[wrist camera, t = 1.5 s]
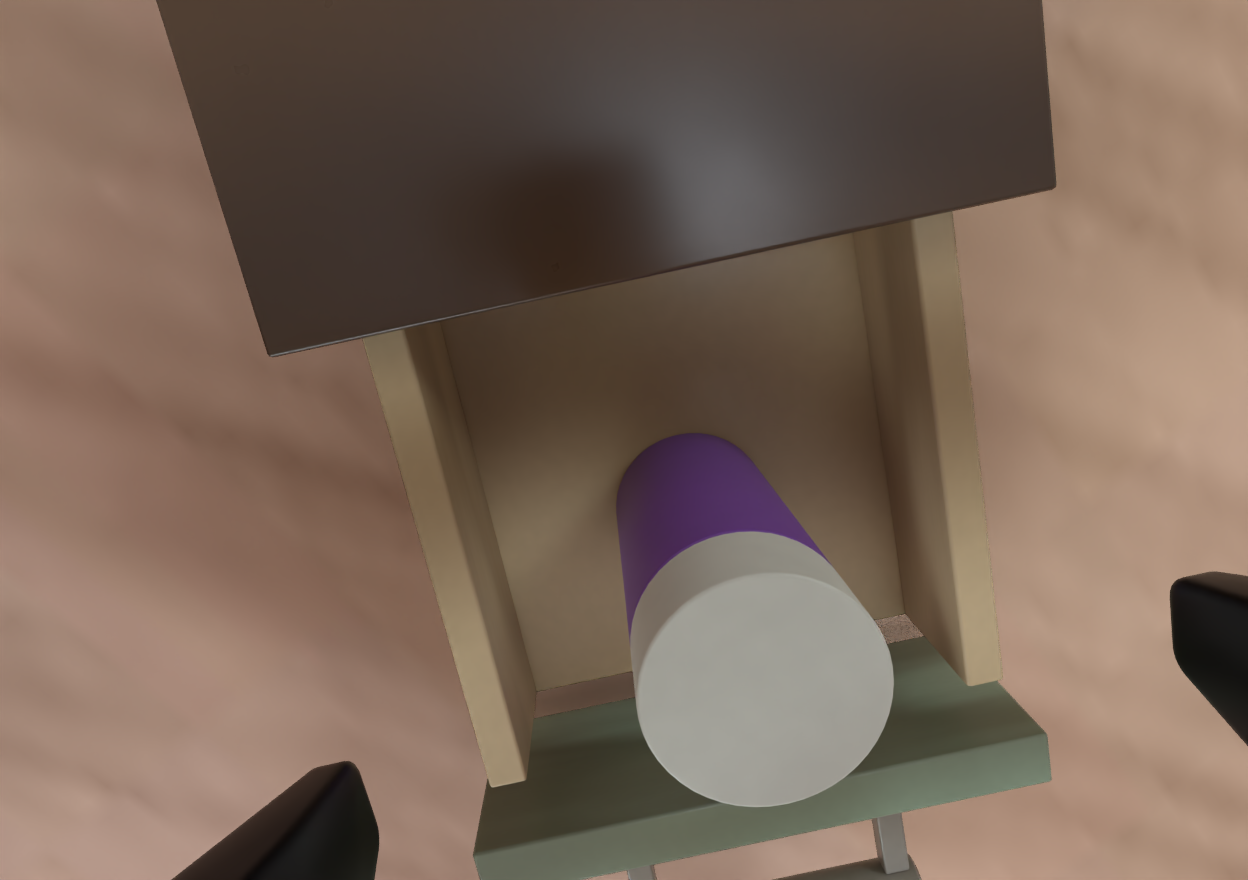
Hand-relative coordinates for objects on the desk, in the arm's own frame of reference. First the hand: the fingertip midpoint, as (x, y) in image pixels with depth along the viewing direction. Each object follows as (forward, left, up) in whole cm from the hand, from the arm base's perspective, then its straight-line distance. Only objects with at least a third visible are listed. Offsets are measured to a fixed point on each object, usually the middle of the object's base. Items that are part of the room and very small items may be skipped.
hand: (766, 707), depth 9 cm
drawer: (-1, -2, -12) cm, 12 cm away
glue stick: (0, -1, -11) cm, 11 cm away
